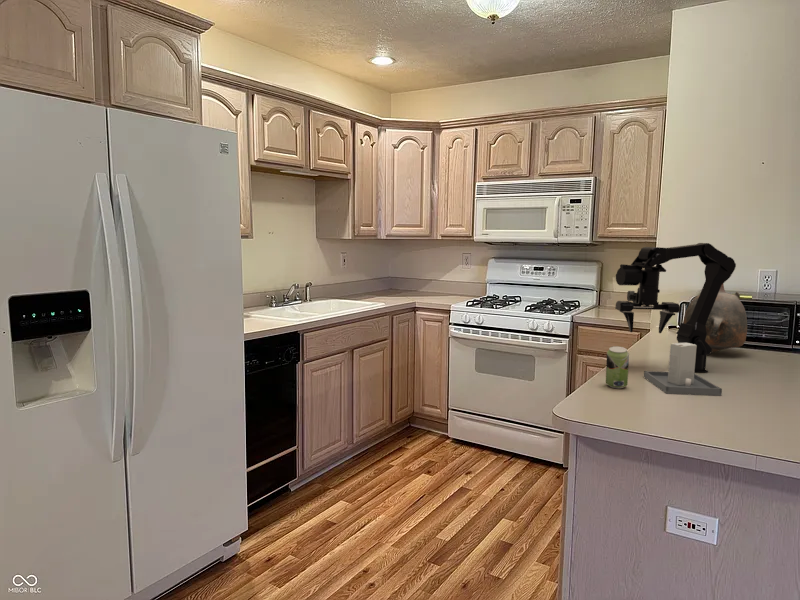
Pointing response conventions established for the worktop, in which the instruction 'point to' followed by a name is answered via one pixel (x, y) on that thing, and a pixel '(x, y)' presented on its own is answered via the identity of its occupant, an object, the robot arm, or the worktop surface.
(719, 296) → the jug
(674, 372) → the skincare box
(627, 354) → the beverage can
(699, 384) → the tray
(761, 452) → the worktop surface
